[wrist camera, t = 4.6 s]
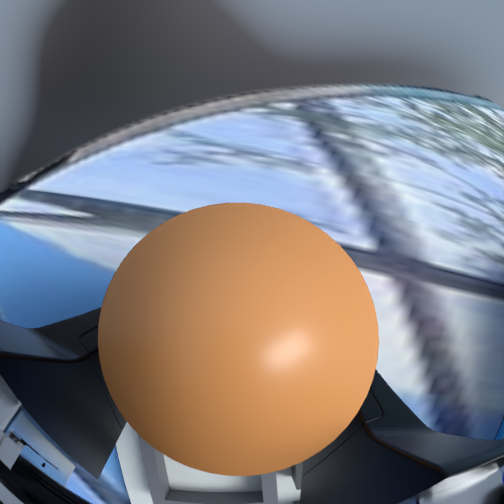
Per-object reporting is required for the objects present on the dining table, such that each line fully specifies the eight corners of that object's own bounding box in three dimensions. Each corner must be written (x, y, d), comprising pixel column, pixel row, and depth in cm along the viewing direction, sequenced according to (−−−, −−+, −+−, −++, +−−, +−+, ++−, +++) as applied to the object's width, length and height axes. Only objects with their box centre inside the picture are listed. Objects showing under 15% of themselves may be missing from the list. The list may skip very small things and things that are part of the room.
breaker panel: (146, 524, 10) (133, 543, 7) (116, 387, 14) (93, 394, 11) (339, 518, 11) (351, 538, 8) (339, 378, 15) (357, 385, 12)
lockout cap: (207, 382, 14) (113, 464, 3) (203, 307, 16) (106, 215, 4) (285, 376, 14) (383, 449, 3) (278, 302, 16) (353, 198, 5)
